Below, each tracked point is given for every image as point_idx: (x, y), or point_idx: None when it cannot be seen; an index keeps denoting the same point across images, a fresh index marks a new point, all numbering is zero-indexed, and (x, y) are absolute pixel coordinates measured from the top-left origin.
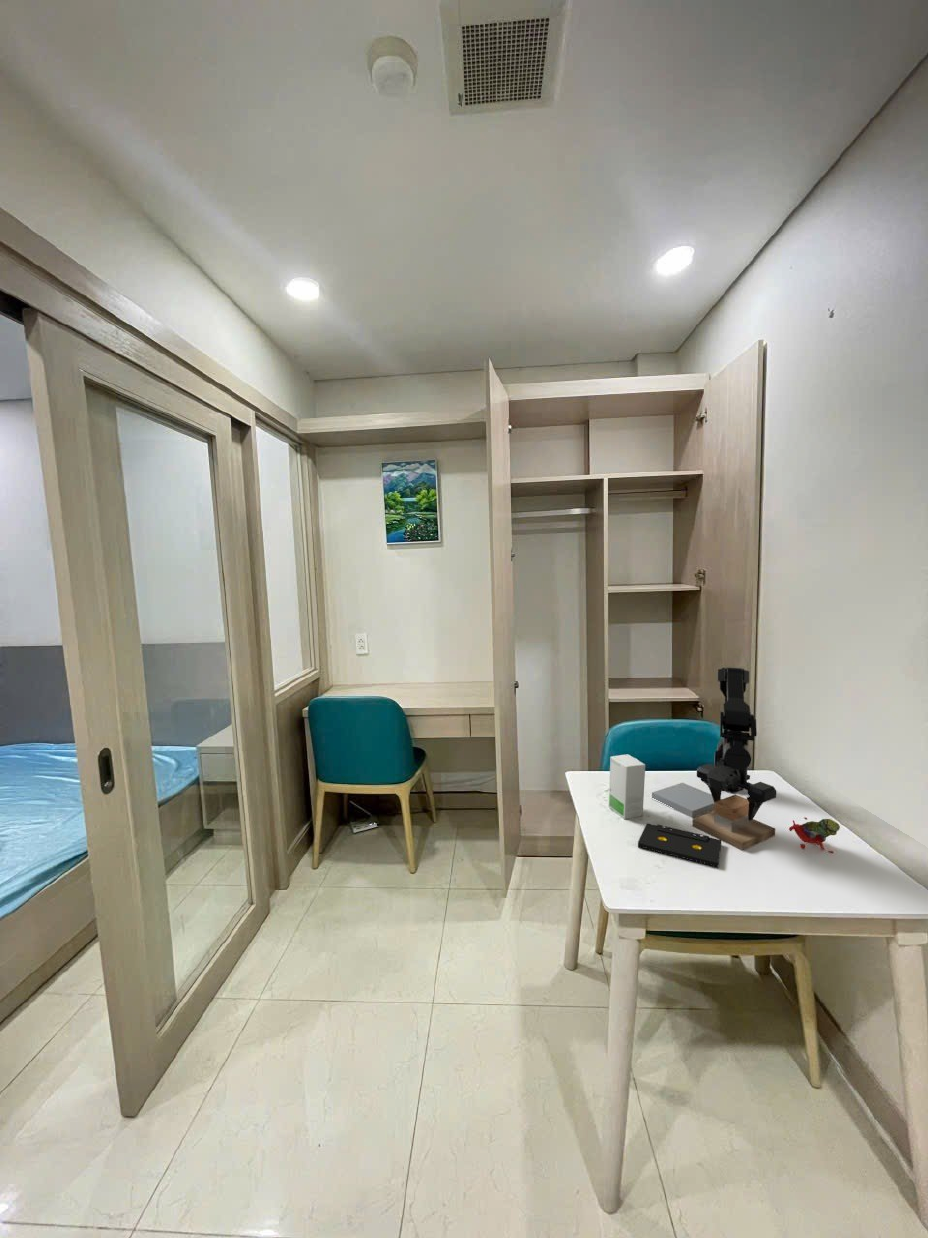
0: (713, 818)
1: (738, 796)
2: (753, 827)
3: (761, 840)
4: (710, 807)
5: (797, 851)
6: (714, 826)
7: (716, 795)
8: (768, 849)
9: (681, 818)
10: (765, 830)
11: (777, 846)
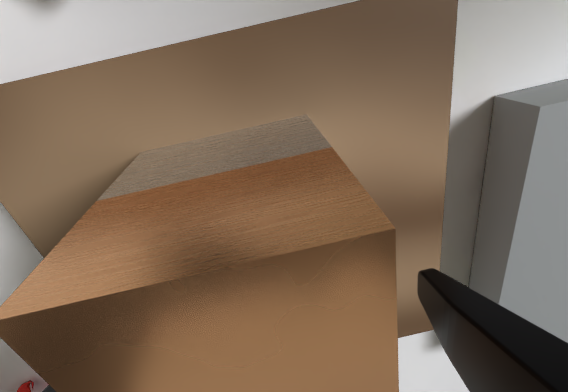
0: (372, 179)
1: None
2: None
3: None
4: (488, 270)
5: (6, 356)
6: (263, 83)
7: (513, 382)
8: (21, 258)
9: (545, 4)
10: None
11: None
